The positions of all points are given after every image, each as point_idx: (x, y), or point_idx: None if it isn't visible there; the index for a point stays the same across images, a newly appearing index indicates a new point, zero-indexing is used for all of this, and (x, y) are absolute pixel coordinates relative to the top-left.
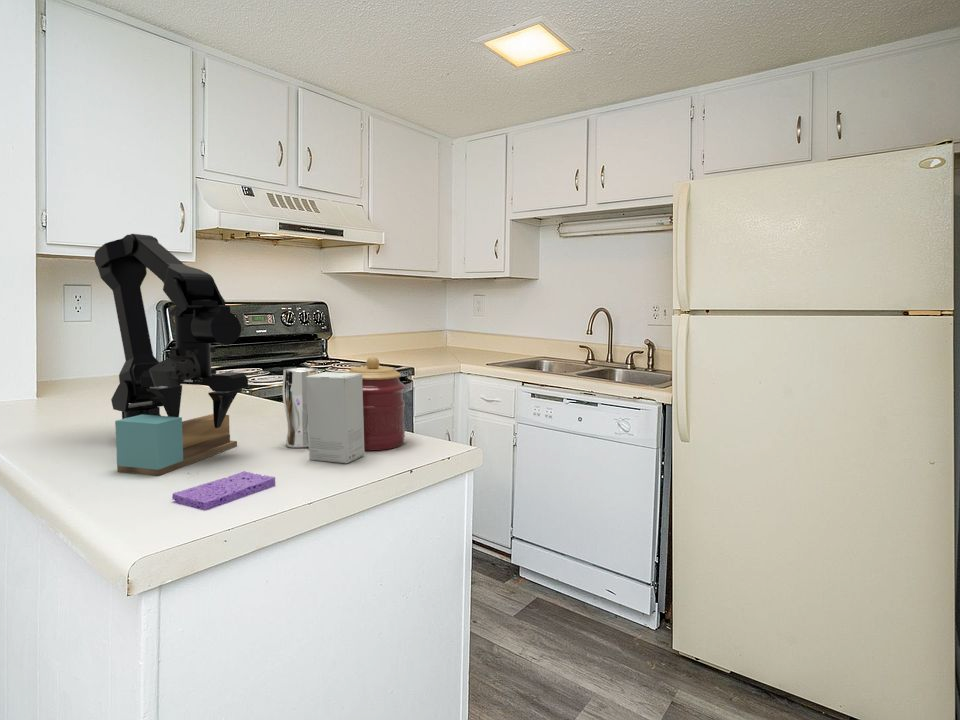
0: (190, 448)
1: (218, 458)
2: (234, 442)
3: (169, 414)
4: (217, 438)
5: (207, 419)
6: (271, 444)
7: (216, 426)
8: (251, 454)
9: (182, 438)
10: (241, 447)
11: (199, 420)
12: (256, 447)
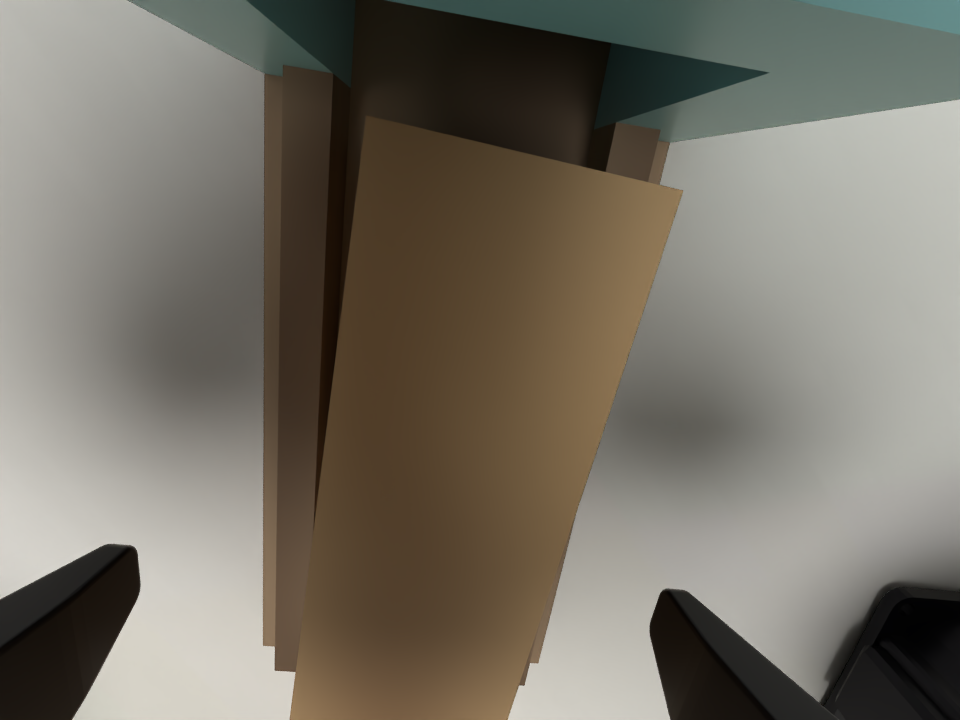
0: (282, 237)
1: (185, 346)
2: (264, 622)
3: (754, 675)
4: (279, 558)
5: (334, 715)
6: (98, 681)
7: (95, 552)
8: (37, 473)
9: (149, 11)
10: (230, 599)
11: (386, 665)
12: (137, 614)
